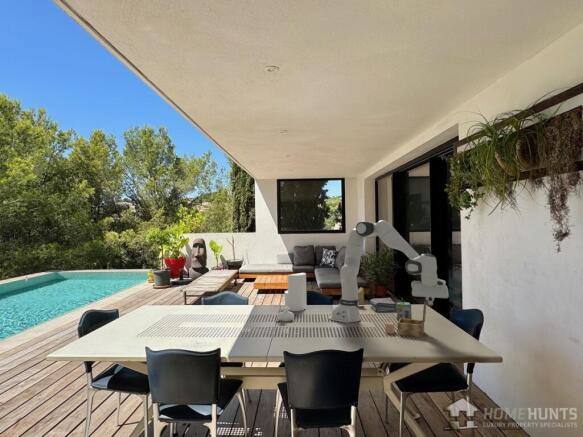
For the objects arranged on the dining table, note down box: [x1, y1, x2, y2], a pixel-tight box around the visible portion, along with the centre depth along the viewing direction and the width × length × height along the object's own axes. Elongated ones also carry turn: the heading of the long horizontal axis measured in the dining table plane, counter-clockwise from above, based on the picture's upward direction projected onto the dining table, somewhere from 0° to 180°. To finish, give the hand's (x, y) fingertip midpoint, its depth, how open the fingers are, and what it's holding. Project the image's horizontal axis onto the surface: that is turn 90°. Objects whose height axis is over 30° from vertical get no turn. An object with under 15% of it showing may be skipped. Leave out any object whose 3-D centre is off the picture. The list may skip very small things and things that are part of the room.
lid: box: [422, 297, 428, 325], centre depth 203 cm, size 14×11×1 cm
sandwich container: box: [358, 286, 365, 308], centre depth 278 cm, size 9×15×15 cm, turn 93°
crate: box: [397, 318, 425, 338], centre depth 207 cm, size 14×11×7 cm
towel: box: [369, 297, 397, 312], centre depth 266 cm, size 15×18×8 cm
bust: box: [276, 305, 295, 322], centre depth 236 cm, size 12×8×11 cm, turn 92°
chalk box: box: [395, 297, 413, 322], centre depth 235 cm, size 9×9×15 cm
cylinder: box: [284, 272, 308, 312], centre depth 272 cm, size 17×17×28 cm
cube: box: [384, 321, 395, 334], centre depth 209 cm, size 4×4×6 cm
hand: (430, 304), depth 202 cm, fingers closed
